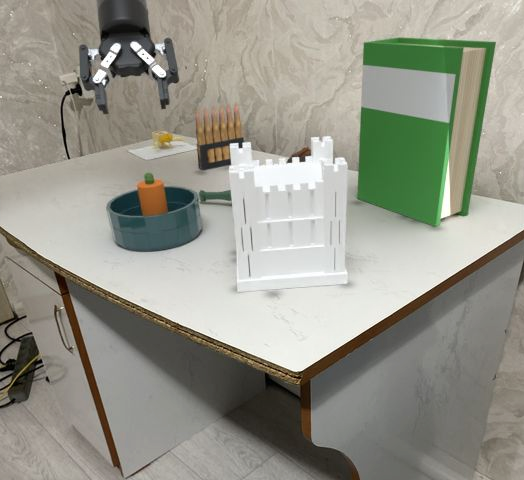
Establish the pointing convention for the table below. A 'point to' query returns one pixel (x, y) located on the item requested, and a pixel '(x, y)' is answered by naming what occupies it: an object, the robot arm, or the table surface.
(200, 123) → the ammunition clip
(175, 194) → the bowl
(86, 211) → the table surface
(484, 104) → the hardback book
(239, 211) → the castle model
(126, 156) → the table surface
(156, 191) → the carrot toy
